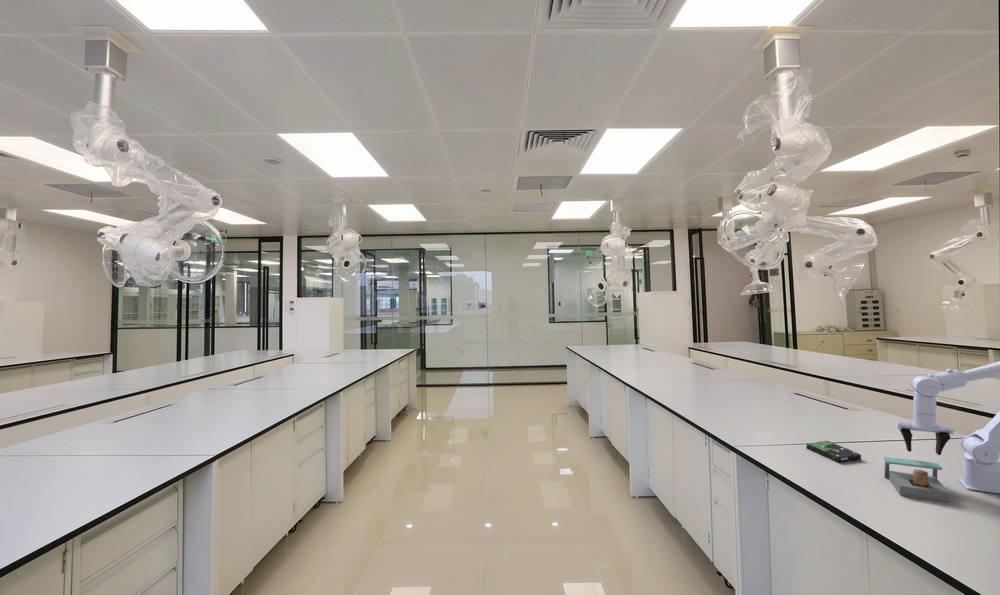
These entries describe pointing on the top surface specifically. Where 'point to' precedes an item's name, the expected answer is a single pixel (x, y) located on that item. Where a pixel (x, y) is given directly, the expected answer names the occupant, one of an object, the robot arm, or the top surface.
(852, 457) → the disk drive
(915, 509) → the top surface
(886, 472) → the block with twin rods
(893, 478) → the socket block
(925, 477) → the peg
